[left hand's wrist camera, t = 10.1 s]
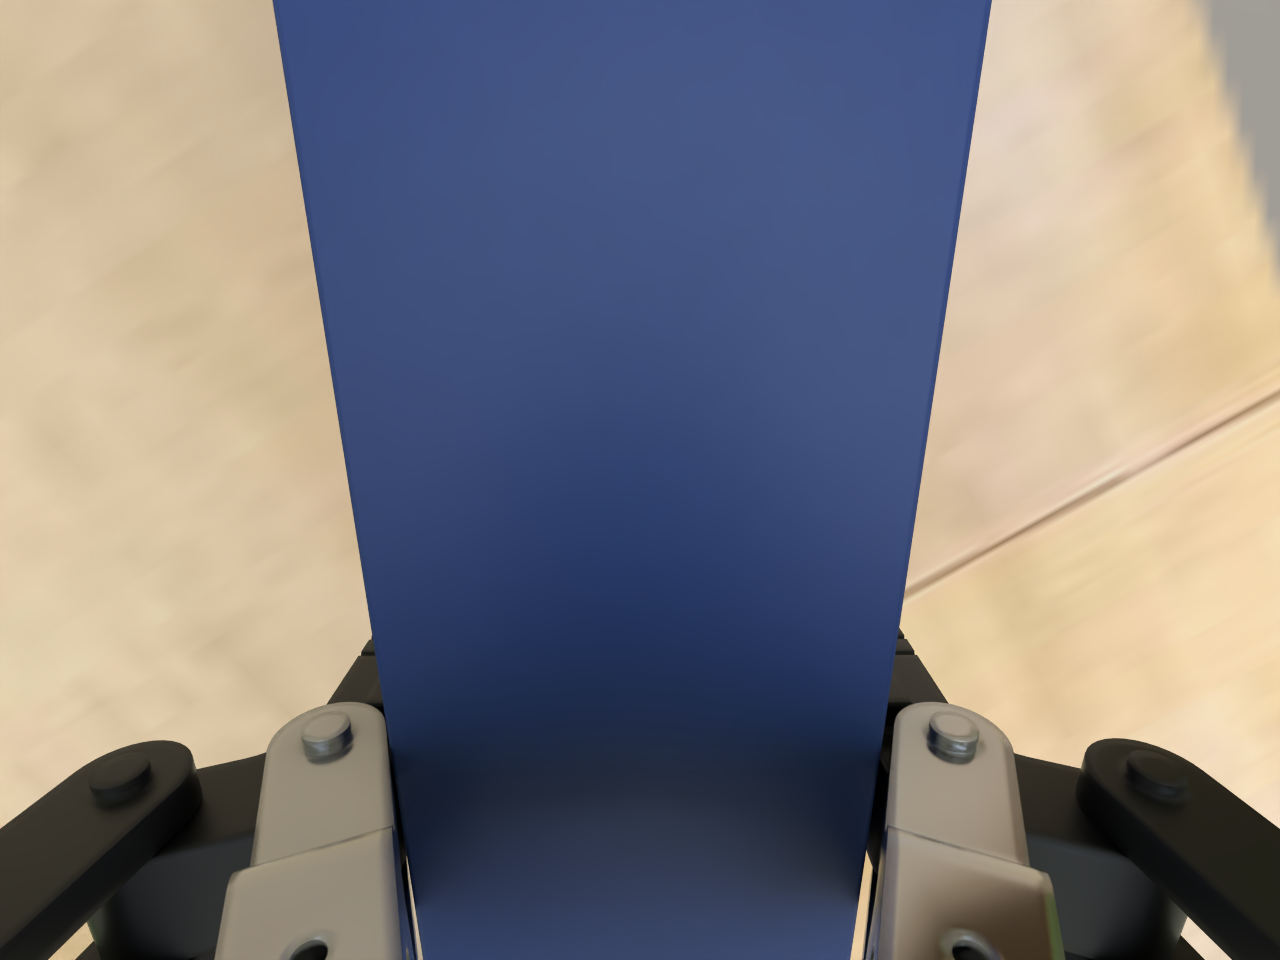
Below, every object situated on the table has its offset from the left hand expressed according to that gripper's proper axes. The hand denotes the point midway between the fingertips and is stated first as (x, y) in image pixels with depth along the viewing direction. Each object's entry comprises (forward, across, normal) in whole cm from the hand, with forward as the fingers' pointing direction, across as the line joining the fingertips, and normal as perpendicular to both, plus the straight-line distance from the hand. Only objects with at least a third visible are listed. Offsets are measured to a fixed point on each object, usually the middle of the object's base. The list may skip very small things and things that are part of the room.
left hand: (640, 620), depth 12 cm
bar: (+3, 0, +8) cm, 8 cm away
